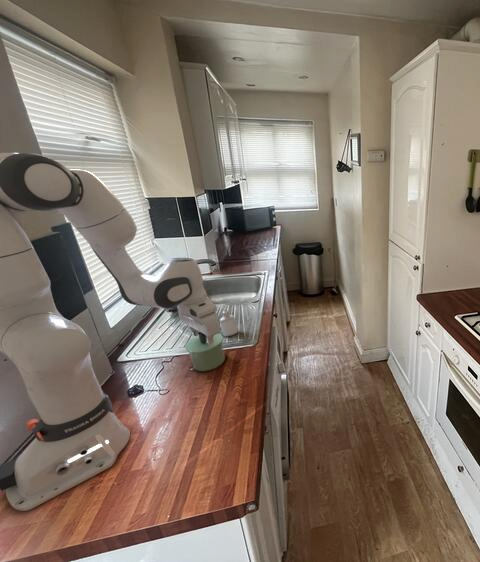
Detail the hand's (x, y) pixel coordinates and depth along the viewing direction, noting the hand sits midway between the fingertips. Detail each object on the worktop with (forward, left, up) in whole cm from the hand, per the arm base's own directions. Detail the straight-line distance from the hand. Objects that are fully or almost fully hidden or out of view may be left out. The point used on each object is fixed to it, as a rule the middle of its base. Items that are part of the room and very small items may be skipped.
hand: (203, 338), depth 108 cm
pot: (0, 0, -10) cm, 10 cm away
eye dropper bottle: (+16, +12, -10) cm, 23 cm away
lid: (0, 0, -2) cm, 2 cm away
